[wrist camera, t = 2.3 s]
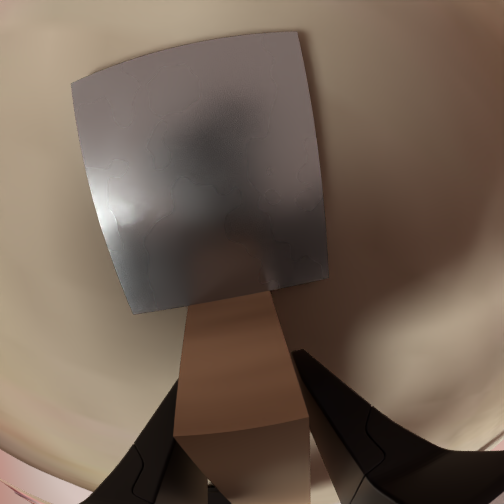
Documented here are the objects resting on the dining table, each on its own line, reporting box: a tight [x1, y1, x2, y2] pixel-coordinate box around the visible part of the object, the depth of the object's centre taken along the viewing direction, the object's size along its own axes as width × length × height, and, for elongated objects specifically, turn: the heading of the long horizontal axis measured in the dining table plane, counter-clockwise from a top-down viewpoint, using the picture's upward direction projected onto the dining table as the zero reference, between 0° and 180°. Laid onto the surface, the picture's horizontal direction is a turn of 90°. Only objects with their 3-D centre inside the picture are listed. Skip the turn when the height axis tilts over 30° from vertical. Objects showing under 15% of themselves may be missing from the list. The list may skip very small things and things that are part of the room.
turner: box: [71, 32, 329, 504], centre depth 7 cm, size 17×6×5 cm, turn 9°
